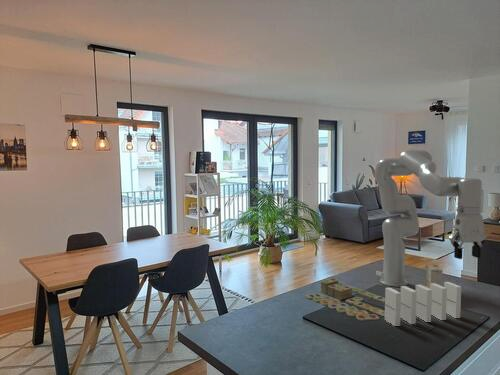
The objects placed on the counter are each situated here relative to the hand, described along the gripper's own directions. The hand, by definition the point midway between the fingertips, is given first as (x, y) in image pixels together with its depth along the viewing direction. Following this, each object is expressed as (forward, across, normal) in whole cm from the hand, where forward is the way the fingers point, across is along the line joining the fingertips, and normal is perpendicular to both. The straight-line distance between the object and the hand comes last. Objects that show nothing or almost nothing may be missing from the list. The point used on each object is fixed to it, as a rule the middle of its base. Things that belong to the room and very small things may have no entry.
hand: (467, 257), depth 139 cm
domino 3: (+22, -19, 0) cm, 29 cm away
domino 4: (+22, -13, 0) cm, 25 cm away
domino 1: (+22, -32, 0) cm, 39 cm away
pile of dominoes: (+23, -34, +21) cm, 46 cm away
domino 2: (+22, -26, 0) cm, 34 cm away
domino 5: (+22, -6, 0) cm, 23 cm away
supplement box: (+22, +2, +19) cm, 29 cm away
